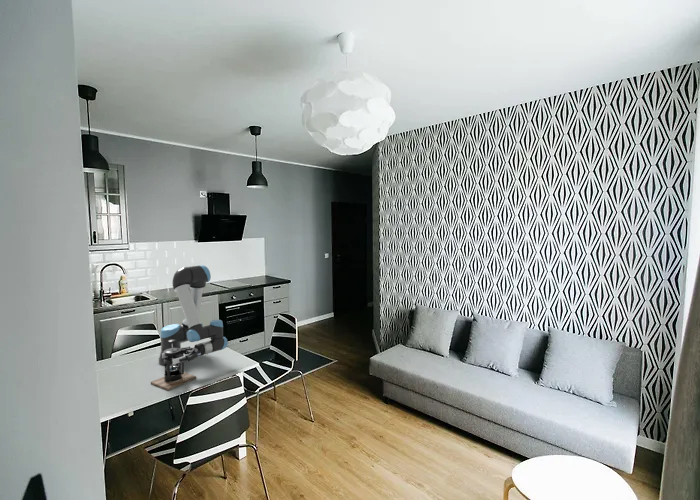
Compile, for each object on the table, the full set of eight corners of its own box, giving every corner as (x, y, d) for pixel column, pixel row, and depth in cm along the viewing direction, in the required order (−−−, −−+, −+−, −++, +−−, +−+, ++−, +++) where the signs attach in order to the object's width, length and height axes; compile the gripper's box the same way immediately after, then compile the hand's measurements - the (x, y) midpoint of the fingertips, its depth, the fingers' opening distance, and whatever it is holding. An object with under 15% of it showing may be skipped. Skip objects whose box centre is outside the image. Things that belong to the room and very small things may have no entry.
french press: (159, 381, 206) (158, 342, 204) (168, 374, 216) (167, 337, 214) (179, 382, 206) (178, 343, 203) (187, 375, 215) (186, 337, 213)
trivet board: (150, 383, 207) (150, 381, 207) (179, 372, 222) (179, 370, 222) (168, 390, 199) (167, 388, 199) (196, 378, 214) (196, 376, 214)
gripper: (213, 359, 215) (177, 371, 199) (193, 349, 231) (158, 359, 215) (213, 347, 215) (177, 358, 199) (192, 338, 231) (157, 347, 215)
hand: (167, 358), depth 207 cm, fingers open, 13 cm apart
